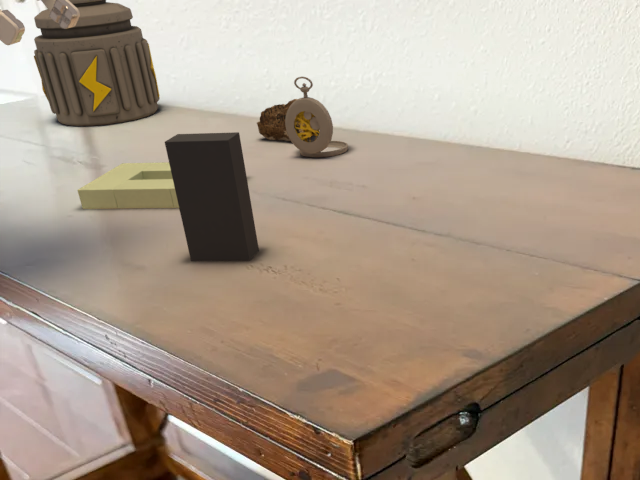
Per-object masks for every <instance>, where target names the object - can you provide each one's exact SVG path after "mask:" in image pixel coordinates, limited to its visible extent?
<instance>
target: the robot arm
mask: <svg viewBox="0 0 640 480" xmlns="http://www.w3.org/2000/svg"><path fill="white" fill-rule="evenodd" d="M36 1H37V2H38V1H41V2H42V4H43V5H44V6H45V8H46V9H48V10H49V11H50V14H49V17H50V18H51V19H52V20H54V21H55V22H56V23H58V24H59V26H60V27H62V28H63V29H68V28H71V27H74V26H75V25H76V23H77V21H78V19H79V17H80V12H79V10H78V8H76V7H75V6H74V5H73V4H72V3H71V2H70V1H69V0H36ZM25 32H26V27H25V24H24V23H23V22H22V21H21V20H20V19H19V18H16V16H15V15H14V14H13V13H12V12H11V11H10V10H9V9H0V42H1V43H3V44H4V45H5V46H11V45H14V44H18V43H20V42H21V41H22V38H23V35H24V34H25Z"/></svg>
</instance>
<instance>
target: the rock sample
mask: <svg viewBox="0 0 640 480" xmlns="http://www.w3.org/2000/svg"><path fill="white" fill-rule="evenodd" d="M297 99H298V98H294V99H291V100H289V101H288V102H286V103H282V104H281V103H280V104H273V105H272V106H270V107H265V109H264V110H262V111H261V112H260V115H259V121H257V122H256V126H257V129H258V133H259V135H261V136H262V137H264V138H266V139H267V140H270V141H285V142H286V141H287V142H288V141H289V142H291V140H290V139H289V136H288V134H287V131H286V125H285V118H286V113H287V111H288V109H289V107H290V105H291V104H292V103H293V102H294V101H296V100H297ZM299 118H300V117H299ZM300 119H301V118H300ZM298 120H299V119H298ZM297 123H299V122H298V121H297ZM299 124H300V125H301V123H299ZM299 124H298V126H300V125H299ZM303 125H304V124H303ZM305 126H306V125H305ZM300 130H303V129H300ZM300 130H299V132H300V133H302V132H305V131H300ZM316 131H317V130H316ZM304 136H306V135H304Z"/></svg>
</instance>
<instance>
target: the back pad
mask: <svg viewBox="0 0 640 480" xmlns="http://www.w3.org/2000/svg"><path fill="white" fill-rule="evenodd" d="M164 146H165V151H166V155H167V160H168V162H169V164H170V169H171V173H172V178H173V182H174V187H175V191H176V196H177V200H178V205H179V208H178V209H179V214H180V218H181V222H182V227H183V232H184V236H185V241H186V244H187V250H188V254H189V258H190V262H250V261H251V260H252V259H253V258H254V257H255V256H256V255H257V254H258V252H260V248H259V242H258V237H257V230H256V225H255V219H254V212H253V207H252V201H251V195H250V189H249V188H250V187H249V182H248V177H247V171H246V165H245V159H244V153H243V148H242V141H241V135H240V132H238V131H237V132H209V133H208V132H207V133H206V132H204V133H203V132H202V133H177V134H175V135H173V136H172V137H170V138H169V139H167V140H165V141H164Z"/></svg>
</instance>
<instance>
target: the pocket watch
mask: <svg viewBox="0 0 640 480" xmlns="http://www.w3.org/2000/svg"><path fill="white" fill-rule="evenodd" d="M300 79H304V80H306V81H308V82H309V83H310V85H309V86H307V83H306V82H303V83H302V84H301V87H300V86H299V85H298V84H297V82H298V80H300ZM293 84H294V86H295V88H297V89H298V90H300V92H301V93H303V97H299V98H296V99H297V100H296V101H294V102H293V103H292V104H291V105H290V107H289V109H288V111H287V113H286V118H285V125H286V131H287V134H288V136H289V139H290V140H291V141H290V142H291V143H292V145H293V146H294V147H295V148H296V149H298V151H299V154H300V155H301V156H303V157H305V158H330V157H336V156H339V155H342V154H344V153H346V152H347V151H348V150H349V144H348V143H347V142H345V141H340V140H332V138H333V134H334V124H333V120H332V117H331V115H330V112H329V111H328V109H327V107H325V105H324V104H323V103H322V102H320V101H319V100H318V99H315V98H313V97H309V96H308V93H309V92H310V90H311V89H312V88H313V86H314V83H313V81H312V80H311V79H310V78H309V77H307V76H298V77H296V78H295V79H294V81H293ZM299 117H300V118H301V119H300V118H299ZM298 119H299V120H298ZM297 121H298V122H299V123H301V125H300V124H299V123H297ZM298 124H299V125H300V126H298ZM303 124H304V125H303ZM305 125H306V126H305ZM300 129H303V130H300ZM299 130H300V131H305V132H302V133H300V132H299ZM316 130H317V131H316ZM304 135H305V136H304ZM313 135H315V138H314V140H311V139H309V138H311V137H313ZM327 148H338V149H335V150H334V149H333V150H328V151H325V150H326V149H327Z"/></svg>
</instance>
